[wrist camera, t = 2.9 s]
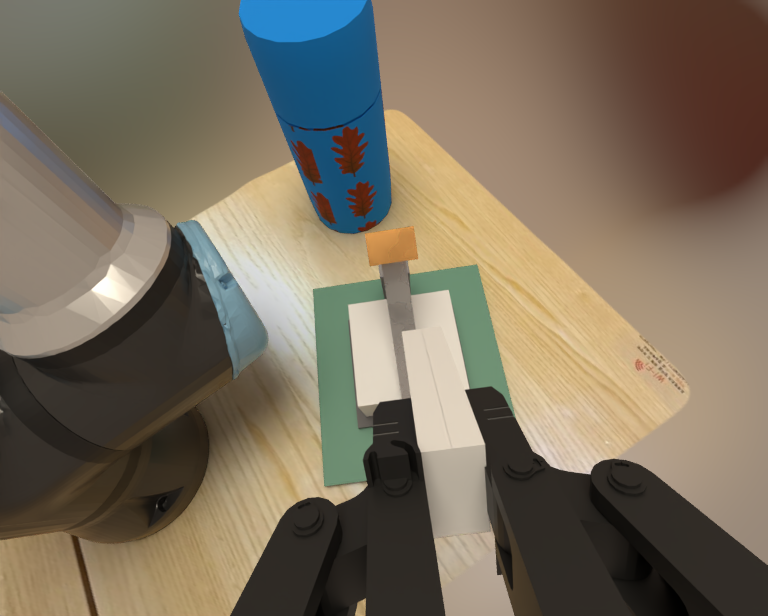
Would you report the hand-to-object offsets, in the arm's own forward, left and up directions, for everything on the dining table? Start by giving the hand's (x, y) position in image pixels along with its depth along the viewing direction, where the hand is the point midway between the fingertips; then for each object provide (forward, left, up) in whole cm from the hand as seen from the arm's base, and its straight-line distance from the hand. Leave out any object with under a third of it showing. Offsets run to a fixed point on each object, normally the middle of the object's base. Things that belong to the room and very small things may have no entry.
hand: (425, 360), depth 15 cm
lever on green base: (-1, +7, -29) cm, 29 cm away
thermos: (-5, +31, -29) cm, 43 cm away
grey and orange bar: (-1, +7, -17) cm, 18 cm away
